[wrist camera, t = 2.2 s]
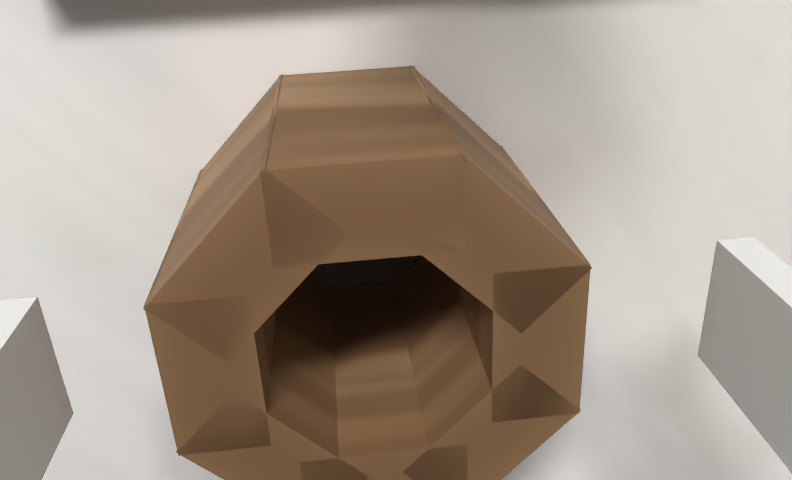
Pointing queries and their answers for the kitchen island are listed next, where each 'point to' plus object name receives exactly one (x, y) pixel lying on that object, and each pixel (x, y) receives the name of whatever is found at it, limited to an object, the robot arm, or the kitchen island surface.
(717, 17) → the kitchen island surface
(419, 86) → the bead
